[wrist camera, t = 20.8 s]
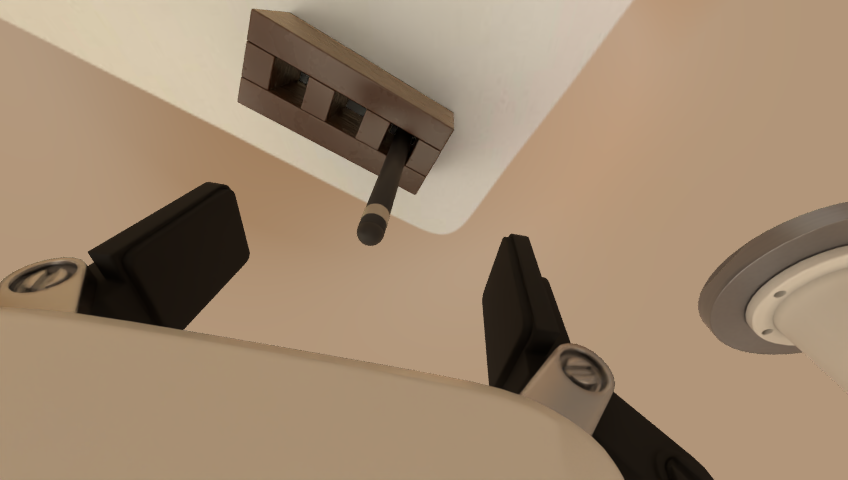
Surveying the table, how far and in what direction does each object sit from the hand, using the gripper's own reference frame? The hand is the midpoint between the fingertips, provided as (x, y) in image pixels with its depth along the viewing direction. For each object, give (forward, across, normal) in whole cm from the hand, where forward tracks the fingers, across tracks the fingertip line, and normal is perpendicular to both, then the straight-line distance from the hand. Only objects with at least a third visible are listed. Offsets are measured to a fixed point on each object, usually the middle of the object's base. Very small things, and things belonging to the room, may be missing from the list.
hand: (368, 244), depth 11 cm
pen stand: (+15, +4, -2) cm, 16 cm away
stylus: (+15, +1, 0) cm, 15 cm away
